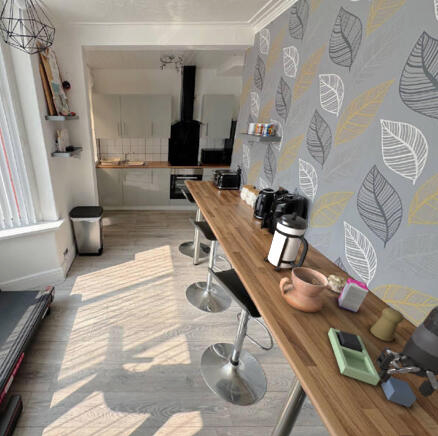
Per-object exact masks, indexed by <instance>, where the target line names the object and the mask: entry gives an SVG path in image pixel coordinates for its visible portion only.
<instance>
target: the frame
mask: <svg viewBox="0 0 438 436" xmlns="http://www.w3.org/2000/svg"><path fill="white" fill-rule="evenodd" d="M340 331H341V330H340V329H337V328H334V327H330V329H329V330H328V333H327V335H328V338H329V341H330V344H331V346H332V349H333V352H334V356H335V359H336V362H337V364H338V367H339V371H340V374H341V375H344V376H347V377H349V378H352V379H355V380H358V381H361V382H363V383H367V384H370V385H373V386H377V385H378V383H379V381H380V380H381V379H380V377H379V375H378V371H377V370H376V367H375V365H374V363H373V361H372V359H371V357H370V355H369V352H368V351H367V348H366V346H365V345H364V344H365V343H364V342H363V340H362V337H361V336H360V335H357V337H358V339H359V341H360V344H361V346H362V347H361V349H360V350H359V351H356V350H352V349H349V348H346V347H343V346H340V343H339V340H338V338H337V336H338V334H339V332H340ZM349 333H350V332H349ZM350 334H352V333H350Z"/></svg>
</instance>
